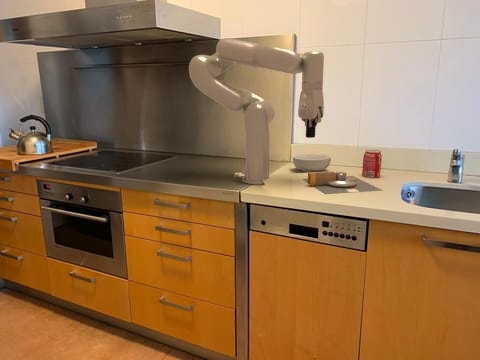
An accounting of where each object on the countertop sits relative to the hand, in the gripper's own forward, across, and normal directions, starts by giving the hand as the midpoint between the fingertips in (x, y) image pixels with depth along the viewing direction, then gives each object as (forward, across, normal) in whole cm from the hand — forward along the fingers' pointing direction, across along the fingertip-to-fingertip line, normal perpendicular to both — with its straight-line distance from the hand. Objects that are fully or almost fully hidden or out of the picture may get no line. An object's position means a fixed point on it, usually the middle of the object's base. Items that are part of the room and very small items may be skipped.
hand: (310, 137), depth 135 cm
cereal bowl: (+19, -19, +15) cm, 31 cm away
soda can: (+19, +5, +27) cm, 34 cm away
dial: (+17, +8, +5) cm, 19 cm away
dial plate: (+19, +9, +8) cm, 22 cm away
